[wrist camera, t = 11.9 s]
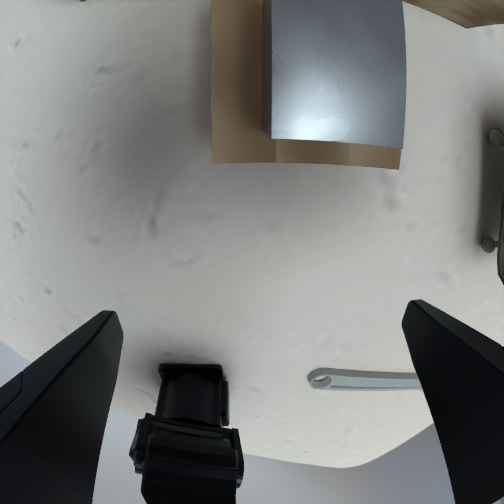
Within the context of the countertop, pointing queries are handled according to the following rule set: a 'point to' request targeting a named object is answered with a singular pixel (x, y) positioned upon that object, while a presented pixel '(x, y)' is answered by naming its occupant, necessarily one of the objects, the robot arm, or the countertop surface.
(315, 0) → the grey rectangular block
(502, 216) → the tabletop clock
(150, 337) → the countertop surface
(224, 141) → the wooden desk organizer
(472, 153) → the countertop surface
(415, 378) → the adjustable wrench
